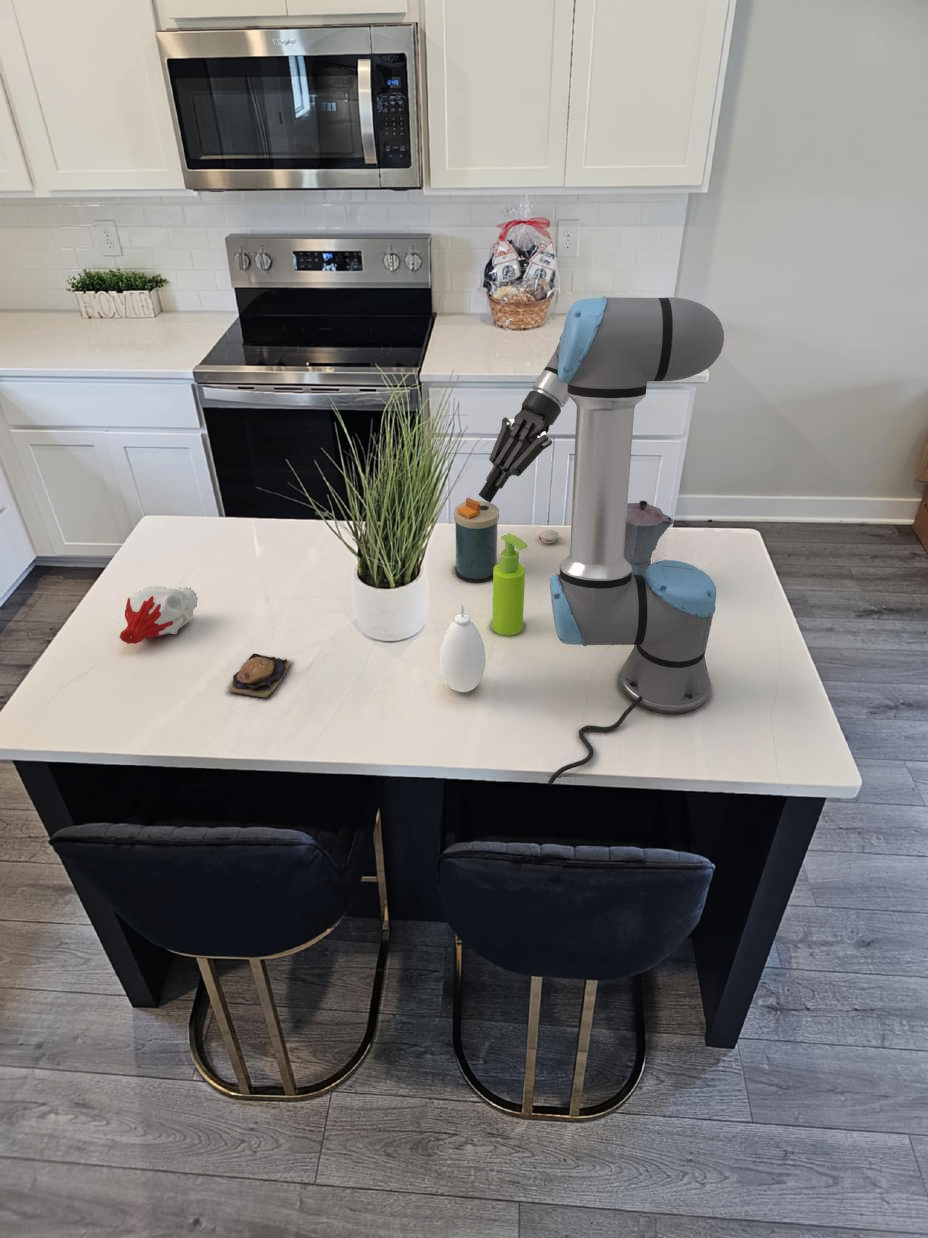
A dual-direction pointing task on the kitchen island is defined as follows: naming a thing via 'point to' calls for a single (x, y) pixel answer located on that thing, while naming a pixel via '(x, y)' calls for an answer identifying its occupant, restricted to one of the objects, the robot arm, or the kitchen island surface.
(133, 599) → the white decorated figurine
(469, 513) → the orange l-shaped block
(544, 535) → the macaroon
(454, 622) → the sauce bottle
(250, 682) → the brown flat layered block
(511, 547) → the soap dispenser
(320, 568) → the kitchen island surface
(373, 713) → the kitchen island surface
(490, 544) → the travel mug
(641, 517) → the moka pot
